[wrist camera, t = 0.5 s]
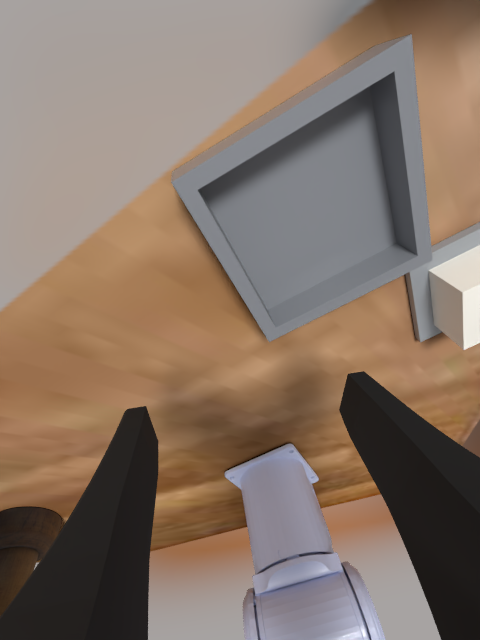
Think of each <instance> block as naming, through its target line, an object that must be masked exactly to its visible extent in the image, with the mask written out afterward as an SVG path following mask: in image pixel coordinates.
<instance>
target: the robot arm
mask: <svg viewBox="0 0 480 640" xmlns="http://www.w3.org/2000/svg"><path fill="white" fill-rule="evenodd" d="M339 410H340V413H341V416H342V418H343V421H344V423H345V426H346V428H347V431H348V433H349V435H350V438H351V439H352V441H353V443H354V445H355V447H356V449H357V451H358V453H359V454H360V456H361V458H362V460H363V462H364V464H365V465H366V467H367V469H368V471H369V473H370V475H371V476H372V478H373V480H374V482H375V484H376V485H377V487H378V489H379V491H380V493H381V495H382V496H383V498H384V500H385V502H386V504H387V506H388V508H389V510H390V513H391V515H392V517H393V519H394V521H395V524H396V526H397V528H398V531H399V533H400V535H401V538H402V540H403V542H404V545H405V547H406V549H407V552H408V554H409V557H410V559H411V561H412V564H413V566H414V569H415V571H416V573H417V576H418V579H419V581H420V584H421V586H422V589H423V591H424V594H425V597H426V599H427V602H428V604H429V607H430V609H431V612H432V614H433V618H434V620H435V623H436V625H437V629H438V632H439V634H440V637H441V640H480V458H479V457H478V456H476V455H475V454H473V453H471V452H469V451H468V450H467V449H465V448H464V447H462V446H461V445H459V444H458V443H456V442H455V441H454V440H452V439H451V438H449V437H448V436H446V435H445V434H444V433H442V432H441V431H439V430H438V429H437V428H435V427H434V426H432V425H431V424H430V423H428V422H427V421H426V420H424V419H423V418H422V417H420V416H419V415H418V414H416V413H415V412H414V411H413V410H411V409H410V408H409V407H407V406H406V405H405V404H404V403H402V402H401V401H400V400H399V399H397V398H396V397H395V396H394V395H392V394H391V393H390V392H389V391H387V390H386V389H385V388H384V387H382V386H381V385H380V384H379V383H378V382H376V381H375V380H374V379H373V378H371V377H370V376H369V375H368V374H366V373H365V372H364V371H363V372H357V373H351V374H348V376H347V380H346V384H345V388H344V392H343V397H342V401H341V405H340V409H339ZM225 477H226V478H227V479H228V480H230V481H231V482H232V483H233V484H235V485H236V486H237V487H238V488H240V489H241V491H242V497H243V503H244V509H245V515H246V521H247V527H248V532H249V538H250V545H251V551H252V556H253V563H254V569H255V575H253V576H252V578H253V584H254V588H250V589H248V590H247V594H246V596H245V598H244V601H243V622H244V633H245V640H385V636H384V633H383V630H382V627H381V624H380V621H379V618H378V615H377V613H376V610H375V607H374V605H373V602H372V600H371V597H370V595H369V592H368V590H367V588H366V586H365V584H364V581H363V579H362V577H361V575H360V574H359V572H358V570H357V569H356V568H354V567H353V566H352V565H350V563H349V562H343V563H341V562H340V559H339V556H338V553H337V552H335V553H334V552H333V549H332V542H331V537H330V534H329V531H328V528H327V525H326V522H325V519H324V517H323V514H322V511H321V508H320V505H319V503H318V500H317V497H316V494H315V491H314V489H313V486H312V483H315V482H317V481H318V480H319V478H318V476H317V474H316V473H315V472H314V471H313V469H312V468H311V467H310V465H309V464H308V463H307V462H306V460H305V459H304V458H303V457H302V455H301V454H300V453H299V451H298V450H297V449H296V448H295V446H294V445H293V444H286V445H284V446H282V447H279V448H277V449H275V450H273V451H270V452H268V453H266V454H264V455H261V456H259V457H257V458H255V459H252V460H250V461H248V462H245V463H243V464H241V465H239V466H236V467H234V468H232V469H230V470H227V471H226V472H225ZM157 479H158V439H157V437H156V434H155V431H154V428H153V425H152V422H151V419H150V417H149V414H148V411H147V408H146V406H144V407H138V408H132V409H127V410H126V411H125V413H124V415H123V417H122V419H121V422H120V424H119V426H118V428H117V430H116V433H115V435H114V437H113V439H112V441H111V443H110V445H109V447H108V449H107V451H106V453H105V455H104V457H103V459H102V461H101V463H100V464H99V466H98V468H97V470H96V472H95V474H94V476H93V478H92V479H91V481H90V483H89V485H88V486H87V488H86V490H85V492H84V493H83V495H82V497H81V498H80V500H79V502H78V504H77V505H76V507H75V509H74V510H73V512H72V514H71V515H70V517H69V519H68V520H67V522H66V523H65V525H64V526H63V528H62V530H61V531H60V533H59V534H58V536H57V537H56V539H55V540H54V542H53V543H52V545H51V546H50V548H49V549H48V551H47V552H46V554H45V555H44V557H43V558H42V560H41V561H40V562H39V564H38V565H37V567H36V568H35V570H34V571H33V572H32V574H31V575H30V577H29V578H28V579H27V581H26V582H25V584H24V585H23V587H22V588H21V589H20V591H19V592H18V593H17V595H16V596H15V597H14V599H13V600H12V602H11V603H10V604H9V606H8V607H7V608H6V610H5V611H4V612H3V613H2V615H1V616H0V640H148V590H149V589H148V587H149V558H150V545H151V536H152V526H153V517H154V508H155V498H156V489H157Z"/></svg>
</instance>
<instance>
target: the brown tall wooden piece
mask: <svg viewBox="0 0 480 640" xmlns="http://www.w3.org/2000/svg"><path fill="white" fill-rule="evenodd" d="M61 523H62V520H61V517H60V516H59V515H58V514H57V513H55V512H53V511H51V510H48V509H43V508H37V507H20V508H12V509H8V510H4V511H2V512H0V616H1V615H2V613H3V612H4V611H5V610H6V608H7V607H8V606H9V604H10V603H11V602H12V600H13V599H14V597H15V596H16V595H17V593H18V592H19V591H20V589H21V588H22V587H23V585H24V584H25V582H26V581H27V579H28V578H29V577H30V575H31V574H32V572H33V571H34V567H35V564H36V561H38V560H40V559H42V558H43V557H44V555H45V554H46V552H47V551H48V549H49V548H50V546H51V545H52V543H53V542H54V540H55V539H56V537H57V536H58V534H59V530H60V527H61Z"/></svg>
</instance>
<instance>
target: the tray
mask: <svg viewBox="0 0 480 640" xmlns="http://www.w3.org/2000/svg"><path fill="white" fill-rule="evenodd" d="M171 183H172V184H173V186H174V188H175V189H176V191H177V192H178V194H179V196H180V197H181V199H182V201H183V202H184V204H185V205H186V207H187V209H188V210H189V212H190V214H191V215H192V217H193V219H194V220H195V222H196V223H197V225H198V227H199V228H200V230H201V232H202V233H203V235H204V236H205V238H206V240H207V241H208V243H209V245H210V246H211V248H212V250H213V251H214V253H215V254H216V256H217V258H218V259H219V261H220V263H221V264H222V266H223V268H224V269H225V271H226V272H227V274H228V276H229V277H230V279H231V281H232V282H233V284H234V285H235V287H236V289H237V290H238V292H239V294H240V295H241V297H242V299H243V300H244V302H245V303H246V305H247V307H248V308H249V310H250V312H251V313H252V315H253V316H254V318H255V320H256V321H257V323H258V325H259V326H260V328H261V330H262V331H263V333H264V334H265V336H266V338H267V339H268V341H269V342H270V341H272V340H274V339H276V338H278V337H280V336H282V335H284V334H286V333H288V332H290V331H292V330H294V329H296V328H298V327H300V326H302V325H304V324H306V323H308V322H310V321H312V320H314V319H316V318H318V317H320V316H322V315H324V314H326V313H328V312H330V311H332V310H334V309H336V308H338V307H340V306H342V305H344V304H346V303H348V302H350V301H352V300H354V299H356V298H358V297H360V296H362V295H364V294H366V293H368V292H370V291H372V290H374V289H376V288H378V287H380V286H382V285H384V284H386V283H388V282H390V281H392V280H394V279H396V278H398V277H400V276H402V275H404V274H406V273H408V272H410V271H412V270H414V269H416V268H418V267H420V266H422V265H424V264H426V263H428V262H430V261H432V249H431V239H430V228H429V217H428V206H427V195H426V185H425V174H424V163H423V152H422V141H421V131H420V120H419V109H418V98H417V87H416V77H415V66H414V55H413V44H412V34H410V35H407V36H403V37H400V38H397V39H394V40H391V41H387V42H384V43H381V44H378V45H375V46H373V47H371V48H370V49H368V50H367V51H365V52H363V53H362V54H360V55H359V56H357V57H355V58H354V59H352V60H351V61H349V62H347V63H346V64H344V65H343V66H341V67H339V68H338V69H336V70H335V71H333V72H331V73H330V74H328V75H327V76H325V77H323V78H322V79H320V80H319V81H317V82H315V83H314V84H312V85H310V86H309V87H307V88H306V89H304V90H302V91H301V92H299V93H298V94H296V95H294V96H293V97H291V98H290V99H288V100H286V101H285V102H283V103H282V104H280V105H278V106H277V107H275V108H274V109H272V110H270V111H269V112H267V113H266V114H264V115H262V116H261V117H259V118H258V119H256V120H254V121H253V122H251V123H250V124H248V125H246V126H245V127H243V128H241V129H240V130H238V131H237V132H235V133H233V134H232V135H230V136H229V137H227V138H225V139H224V140H222V141H221V142H219V143H217V144H216V145H214V146H213V147H211V148H209V149H208V150H206V151H205V152H203V153H201V154H200V155H198V156H197V157H195V158H193V159H192V160H190V161H189V162H187V163H185V164H184V165H182V166H180V167H179V168H177V169H176V170H174V171H172V180H171Z"/></svg>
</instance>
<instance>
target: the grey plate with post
mask: <svg viewBox="0 0 480 640" xmlns="http://www.w3.org/2000/svg"><path fill="white" fill-rule="evenodd" d="M479 245H480V222H479V223H477V224H475V225H473V226H471V227H469V228H467V229H465V230H463V231H461V232H459V233H457V234H455V235H453V236H451V237H449V238H447V239H445V240H443V241H441V242H439V243H437V244H435V245H433V246H431V249H432V261H430V262H428V263H426V264H424V265H422V266H420V267H418V268H416V269H414V270H412V271H410V272H408V273H406V274H405V276H406V282H407V288H408V294H409V300H410V306H411V312H412V318H413V324H414V331H415V337H416V338H417V339H418V340H419V341H420V342H422V341H424V340H426V339H429V338H431V337H433V336H435V335H437V334H439V333H442V331H441V330H440V329H438V328H437V327H436V326H435V325H434V318H433V308H432V299H431V289H430V280H429V270H430V269H432V268H434V267H436V266H438V265H440V264H442V263H444V262H446V261H448V260H450V259H452V258H454V257H456V256H458V255H460V254H462V253H464V252H466V251H468V250H470V249H472V248H475V247H477V246H479Z"/></svg>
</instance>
